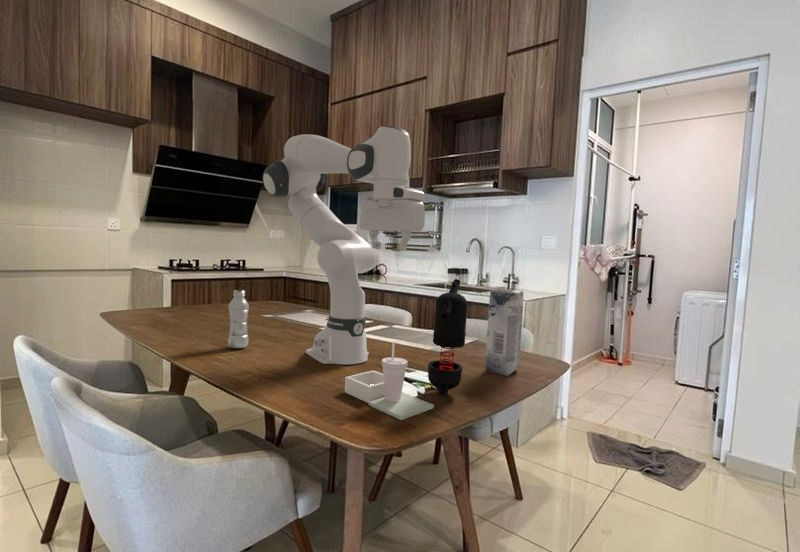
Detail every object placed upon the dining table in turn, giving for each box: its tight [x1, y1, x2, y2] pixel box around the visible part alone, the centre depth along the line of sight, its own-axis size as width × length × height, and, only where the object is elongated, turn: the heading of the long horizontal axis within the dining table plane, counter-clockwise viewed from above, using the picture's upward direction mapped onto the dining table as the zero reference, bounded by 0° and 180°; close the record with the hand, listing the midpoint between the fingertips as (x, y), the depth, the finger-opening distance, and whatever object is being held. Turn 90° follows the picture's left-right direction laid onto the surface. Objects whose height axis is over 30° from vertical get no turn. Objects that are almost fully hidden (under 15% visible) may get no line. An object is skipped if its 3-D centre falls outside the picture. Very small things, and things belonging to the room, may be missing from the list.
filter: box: [427, 278, 468, 396], centre depth 108 cm, size 14×9×30 cm
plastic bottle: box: [227, 289, 250, 350], centre depth 145 cm, size 6×7×20 cm
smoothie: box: [381, 341, 409, 402], centre depth 102 cm, size 6×6×14 cm
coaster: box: [368, 391, 435, 421], centre depth 101 cm, size 11×11×1 cm
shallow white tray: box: [344, 370, 385, 404], centre depth 108 cm, size 10×10×4 cm
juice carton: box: [485, 285, 524, 377], centre depth 133 cm, size 9×10×27 cm
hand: (388, 249), depth 106 cm, fingers open, 8 cm apart
